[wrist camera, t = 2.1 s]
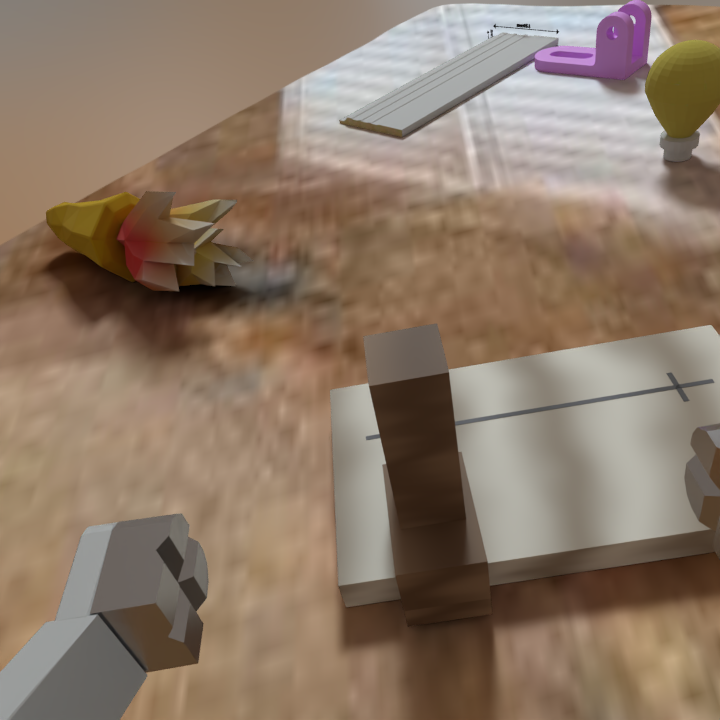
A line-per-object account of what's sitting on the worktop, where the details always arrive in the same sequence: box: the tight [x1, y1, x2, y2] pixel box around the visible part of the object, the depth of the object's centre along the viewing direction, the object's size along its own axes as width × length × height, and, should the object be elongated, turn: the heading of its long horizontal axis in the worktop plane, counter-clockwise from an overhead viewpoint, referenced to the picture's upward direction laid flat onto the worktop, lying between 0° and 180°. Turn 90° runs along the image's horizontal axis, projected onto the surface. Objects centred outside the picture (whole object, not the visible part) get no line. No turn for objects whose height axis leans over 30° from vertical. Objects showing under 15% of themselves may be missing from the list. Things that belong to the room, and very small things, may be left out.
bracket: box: [535, 0, 651, 80], centre depth 81 cm, size 13×6×7 cm, turn 47°
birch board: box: [330, 325, 720, 607], centre depth 38 cm, size 24×14×2 cm, turn 93°
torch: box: [46, 191, 253, 291], centre depth 61 cm, size 8×8×25 cm
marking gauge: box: [363, 324, 492, 626], centre depth 32 cm, size 4×12×13 cm, turn 3°
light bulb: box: [645, 40, 720, 162], centre depth 59 cm, size 7×7×10 cm
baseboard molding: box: [339, 24, 559, 137], centre depth 87 cm, size 31×3×12 cm
